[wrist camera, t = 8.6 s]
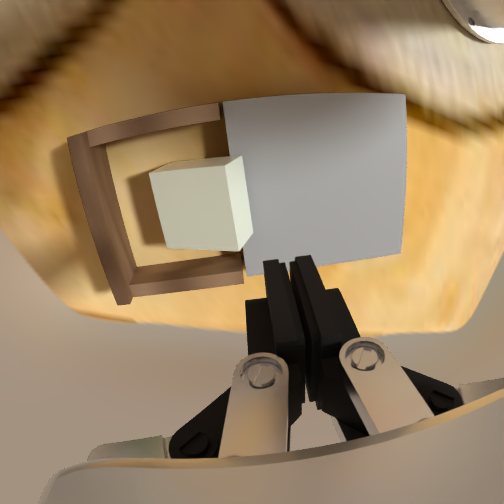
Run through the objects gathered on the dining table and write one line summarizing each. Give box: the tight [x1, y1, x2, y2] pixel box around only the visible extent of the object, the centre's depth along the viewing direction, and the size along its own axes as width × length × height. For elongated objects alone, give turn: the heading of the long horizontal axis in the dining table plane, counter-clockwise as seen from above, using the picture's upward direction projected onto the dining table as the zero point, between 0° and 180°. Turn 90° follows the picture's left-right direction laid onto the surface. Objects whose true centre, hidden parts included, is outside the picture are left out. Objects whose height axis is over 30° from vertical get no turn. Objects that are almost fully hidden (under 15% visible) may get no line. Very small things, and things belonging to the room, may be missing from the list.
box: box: [67, 102, 244, 305], centre depth 23 cm, size 11×14×4 cm
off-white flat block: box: [149, 155, 253, 251], centre depth 23 cm, size 6×6×3 cm
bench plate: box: [223, 93, 407, 276], centre depth 24 cm, size 14×14×2 cm
